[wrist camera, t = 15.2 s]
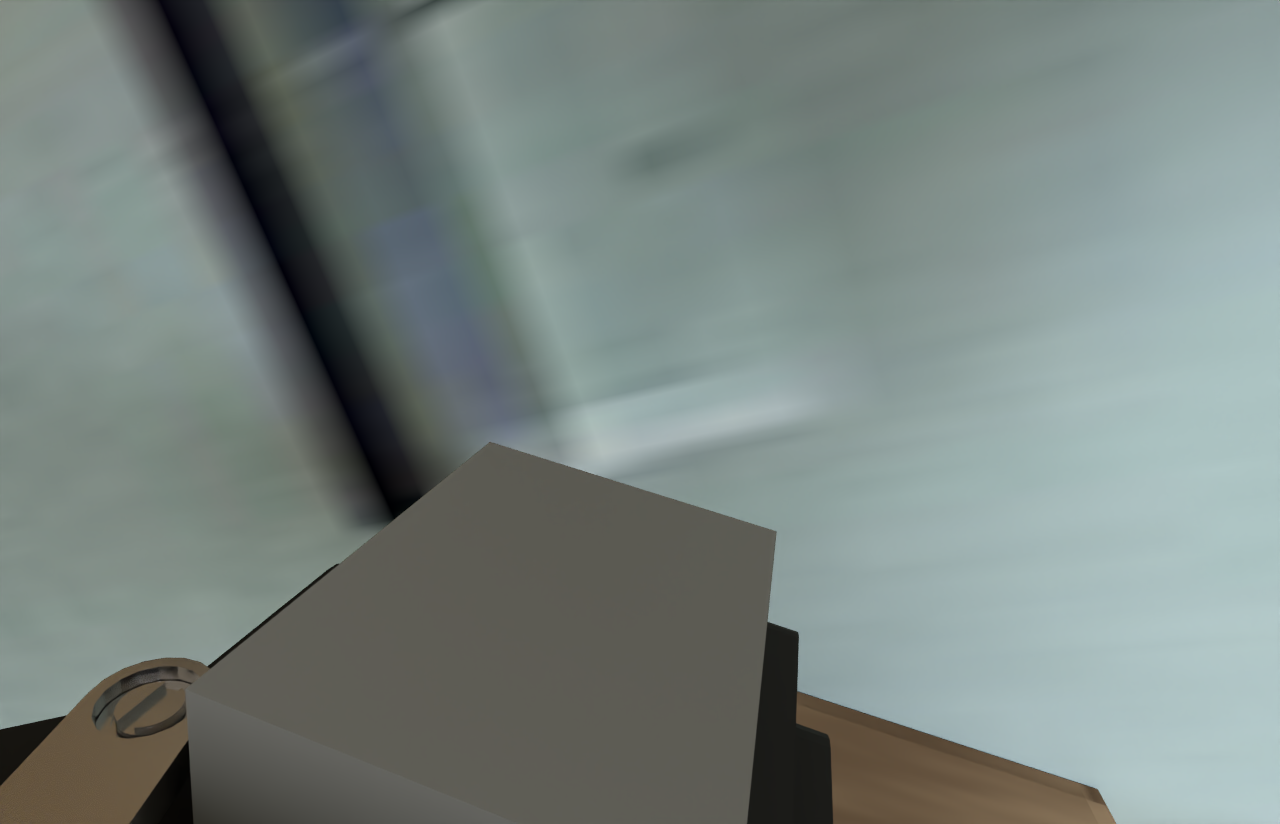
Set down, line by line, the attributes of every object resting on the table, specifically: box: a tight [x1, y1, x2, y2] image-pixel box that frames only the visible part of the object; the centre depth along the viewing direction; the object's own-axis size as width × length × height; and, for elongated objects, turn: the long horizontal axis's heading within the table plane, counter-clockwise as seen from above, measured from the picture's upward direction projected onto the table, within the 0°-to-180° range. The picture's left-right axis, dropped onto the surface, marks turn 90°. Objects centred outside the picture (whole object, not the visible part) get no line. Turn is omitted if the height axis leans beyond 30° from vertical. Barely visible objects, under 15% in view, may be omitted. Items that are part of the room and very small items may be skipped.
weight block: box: [185, 442, 776, 824], centre depth 9 cm, size 5×5×6 cm
